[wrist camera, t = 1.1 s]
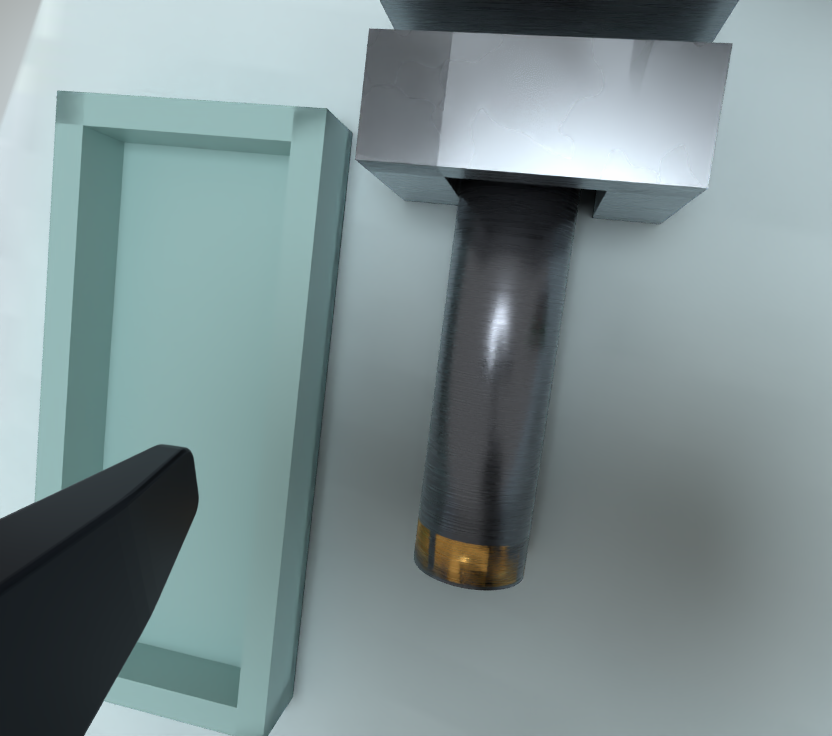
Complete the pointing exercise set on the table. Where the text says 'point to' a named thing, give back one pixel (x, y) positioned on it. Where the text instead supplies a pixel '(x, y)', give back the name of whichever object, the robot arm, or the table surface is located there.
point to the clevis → (547, 99)
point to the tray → (199, 366)
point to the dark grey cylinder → (494, 381)
